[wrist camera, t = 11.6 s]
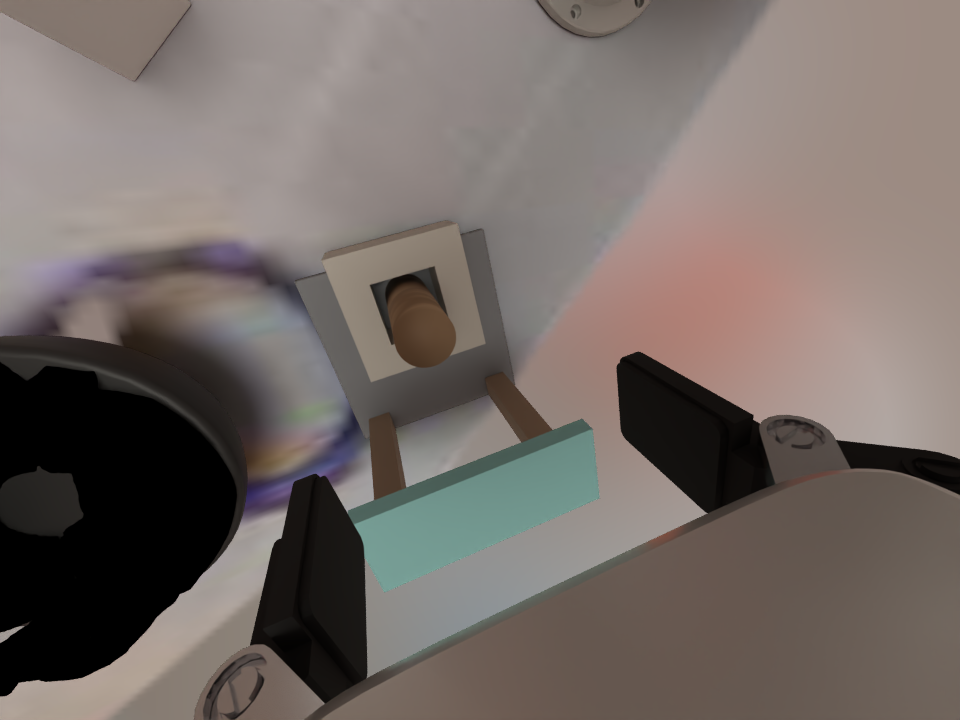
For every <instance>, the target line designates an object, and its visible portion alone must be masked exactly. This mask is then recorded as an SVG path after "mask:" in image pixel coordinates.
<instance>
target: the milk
mask: <svg viewBox="0 0 960 720" xmlns="http://www.w3.org/2000/svg"><path fill="white" fill-rule="evenodd" d="M190 5H191V3H190V2H189V0H0V12H1V13H3V14H5V15H7V16H9V17H11V18H13V19H15V20H17V21H19V22H21V23H22V24H24V25H26V26H28V27H30V28H32V29H34V30H36V31H38V32H40V33H42V34H44V35H45V36H47V37H49V38H51V39H53V40H55V41H57V42H59V43H61V44H63V45H65V46H66V47H68V48H70V49H72V50H74V51H76V52H78V53H80V54H82V55H84V56H86V57H88V58H89V59H91V60H93V61H95V62H97V63H99V64H101V65H103V66H105V67H107V68H109V69H110V70H112V71H114V72H116V73H118V74H120V75H122V76H124V77H126V78H128V79H130V80H132V81H135V80H136V78H137V77H138V76H139V74H140V73H141V72H142V70H143V69H144V68H145V66H146V65H147V64H148V62H149V61H150V59H151V58H152V57H153V55H154V54H155V53H156V51H157V50H158V49H159V47H160V46H161V45H162V43H163V42H164V41H165V39H166V38H167V37H168V35H169V34H170V32H171V31H172V30H173V28H174V27H175V26H176V24H177V23H178V22H179V20H180V19H181V18H182V16H183V15H184V14H185V12H186V11H187V10H188V8H189V7H190Z"/></svg>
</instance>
